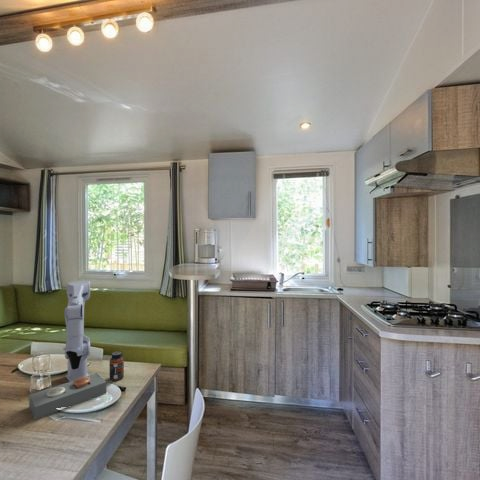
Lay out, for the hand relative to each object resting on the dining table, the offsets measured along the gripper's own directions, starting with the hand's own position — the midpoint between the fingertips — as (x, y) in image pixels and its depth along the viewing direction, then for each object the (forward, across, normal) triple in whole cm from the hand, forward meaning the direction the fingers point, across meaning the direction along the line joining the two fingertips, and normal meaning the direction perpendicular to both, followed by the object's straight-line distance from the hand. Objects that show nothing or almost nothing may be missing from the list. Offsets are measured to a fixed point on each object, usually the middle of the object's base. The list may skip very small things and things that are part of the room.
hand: (75, 368), depth 117 cm
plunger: (+10, +3, -7) cm, 13 cm away
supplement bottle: (+11, -1, +17) cm, 20 cm away
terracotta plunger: (+9, +3, +2) cm, 9 cm away
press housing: (+10, +3, -3) cm, 11 cm away
